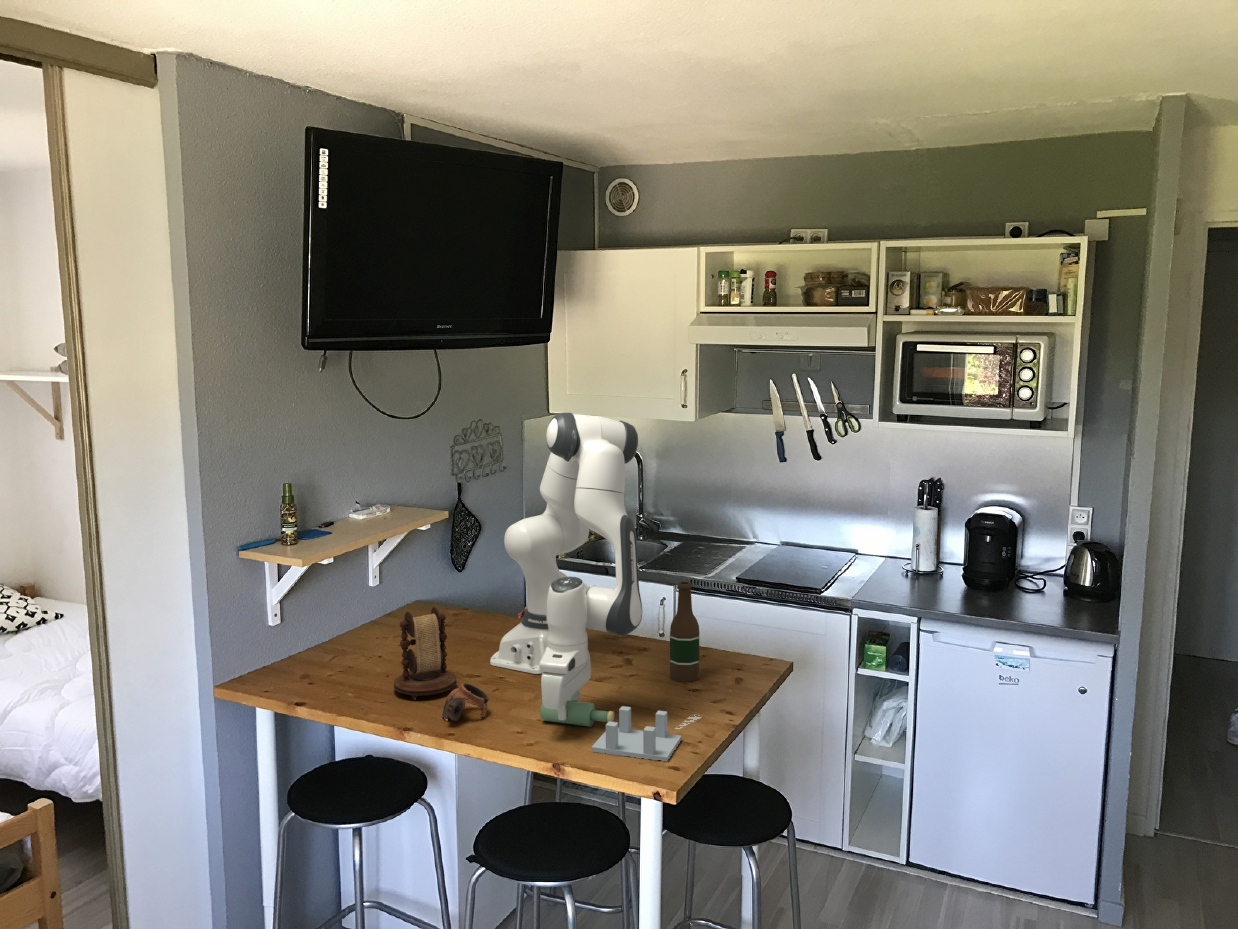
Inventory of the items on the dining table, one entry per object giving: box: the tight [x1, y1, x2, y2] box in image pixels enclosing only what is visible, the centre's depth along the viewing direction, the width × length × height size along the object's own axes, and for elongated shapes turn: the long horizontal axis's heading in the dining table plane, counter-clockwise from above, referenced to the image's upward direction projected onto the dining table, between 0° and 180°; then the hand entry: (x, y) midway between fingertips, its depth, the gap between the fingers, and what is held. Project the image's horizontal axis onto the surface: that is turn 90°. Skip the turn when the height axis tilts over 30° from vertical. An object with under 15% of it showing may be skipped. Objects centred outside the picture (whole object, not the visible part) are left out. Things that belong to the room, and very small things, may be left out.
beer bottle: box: [669, 580, 700, 683], centre depth 243 cm, size 8×8×24 cm
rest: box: [591, 705, 682, 762], centre depth 205 cm, size 16×11×6 cm
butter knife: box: [674, 714, 702, 730], centre depth 211 cm, size 1×24×3 cm
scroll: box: [393, 606, 457, 700], centre depth 236 cm, size 15×15×20 cm
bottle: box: [539, 699, 615, 728], centre depth 216 cm, size 16×5×5 cm, turn 71°
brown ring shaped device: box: [441, 682, 490, 722], centre depth 220 cm, size 12×10×8 cm
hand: (568, 713), depth 217 cm, fingers closed on bottle, 5 cm apart
